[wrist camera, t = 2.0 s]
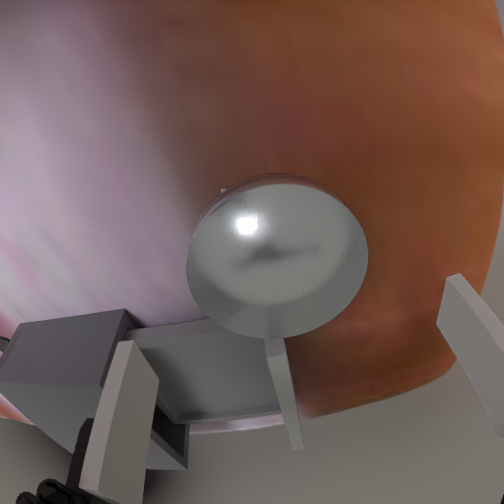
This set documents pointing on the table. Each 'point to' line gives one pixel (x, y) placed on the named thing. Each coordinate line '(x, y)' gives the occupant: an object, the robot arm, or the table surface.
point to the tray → (219, 374)
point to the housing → (77, 381)
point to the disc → (276, 257)
